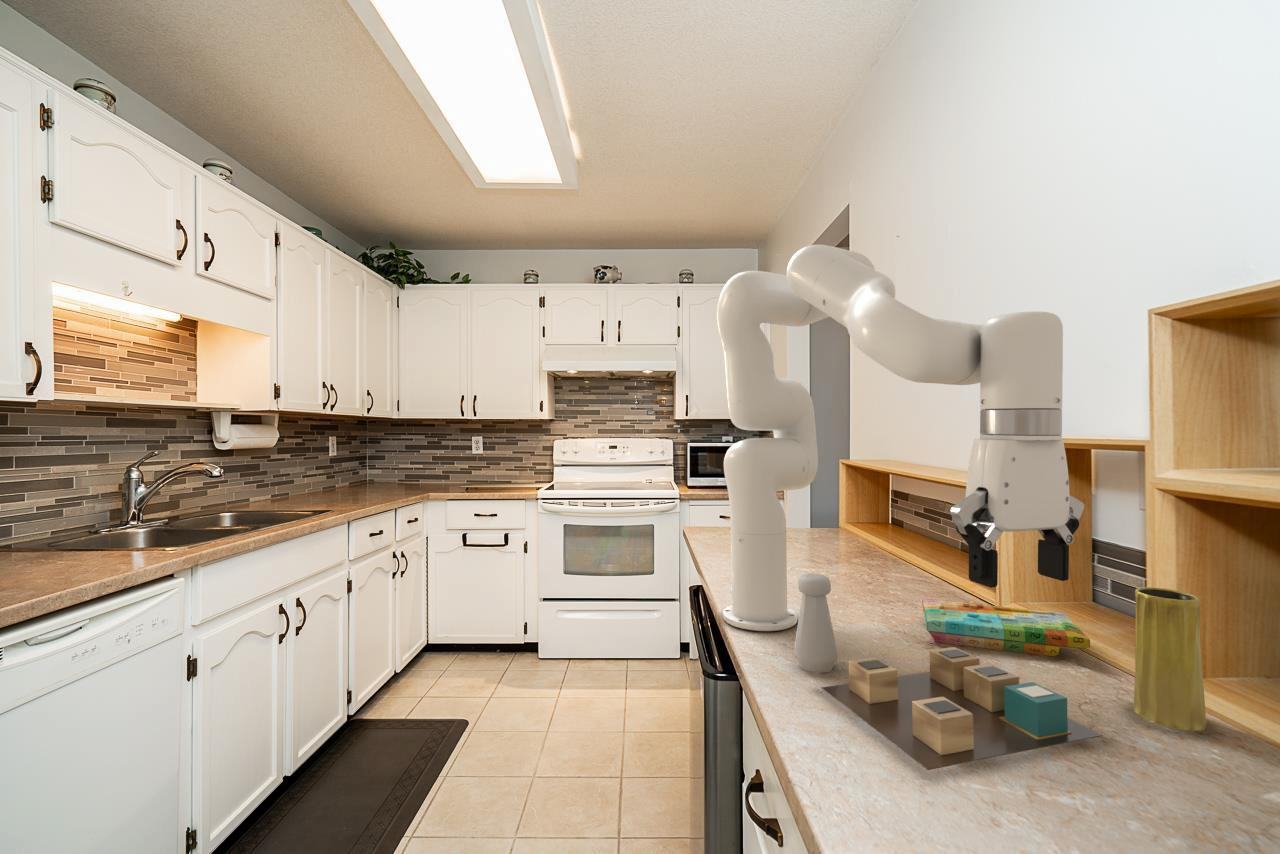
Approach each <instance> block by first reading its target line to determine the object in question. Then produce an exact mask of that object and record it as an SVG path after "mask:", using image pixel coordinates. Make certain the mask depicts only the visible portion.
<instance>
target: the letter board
mask: <svg viewBox="0 0 1280 854" xmlns="http://www.w3.org/2000/svg"><path fill="white" fill-rule="evenodd" d="M820 688H821V689H822V690H823V691H824V692H826V694H828V695H829V696H830V697H832V698H833V699H835V700H836V701H837V702H838V703H840V704H841V705H843V706H844V707H846V709H847V710H849V711H850V712H851V713H852V714H854V715H855V716H856V717H858V718H859V719H861V720H862V721H863V722H864V723H866V724H867V725H868V726H870V727H871V728H872V729H873V730H875V731H876V732H877V733H878V734H879V735H881V736H883V737H884V738H885V739H887V740H888V741H889V742H890V743H891V744H893V745H894V746H896V747H897V748H898V749H899V750H901V751H902V752H903V753H904V754H905V755H907V756H908V757H910V758H911V759H912V760H914V761H915V762H916V763H917V764H918V765H920V766H921V767H922V768H924V769H925V770H926V771H930V770H934V769H935V770H936V769H940V768H945V767H949V766H956V765H960V764H965V763H971V762H975V761H976V762H977V761H980V760H986V759H991V758H995V757H1002V756H1006V755H1012V754H1015V753H1016V754H1017V753H1021V752H1027V751H1032V750H1037V749H1043V748H1047V747H1053V746H1058V745H1064V744H1068V743H1074V742H1078V741H1084V740H1088V739H1094V738H1098V737H1099V738H1100V737H1103V734H1101V733H1098V732H1097V731H1096V730H1095V731H1094V730H1093V729H1090V728H1088V727H1086V726H1084V725H1083V724H1080V723H1079V722H1077V721H1074V720H1072V719H1070V718H1068V732H1063V733H1058V734H1053V735H1048V736H1042V737H1037V736H1035V735H1033V734H1032V733H1030V732H1028V731H1026V730H1024V729H1023V728H1021V727H1019V726H1017V725H1015V724H1014V723H1012V722H1010V721H1008V720H1006V719H1005V710H1002V711H996V712H991V711H989V710H987V709H985V708H983V707H982V706H980V705H978V704H976V703H974V702H973V701H971V700H969V699H967V698H966V697H964V689H963V690H957V691H953V690H951V689H949V688H948V687H946V686H944V685H942V684H940V683H939V682H937V681H935V680H933V679H932V678H930V671H928V672H927V671H926V672H920V673H914V674H905V675H898V700H892V701H886V702H880V703H873V704H869V703H868V702H866V701H865V700H863V699H862V698H861V697H859V696H858V695H856V694H855V693H854V692H852V691H851V690H850V689H849V683H843V684H836V685H829V686H822V687H820ZM937 697H945V698H947V699H948V700H950V701H952V702H953V703H955V704H957V705H958V706H960V707H962V708H964V709H965V710H967V711H969V712H970V713H972V714H973V734H974V749H973V750H967V751H962V752H957V753H951V754H946V755H940V754H939V753H937V752H936V751H934V750H933V749H932V748H930V747H929V746H927V745H926V744H925V743H923V742H922V741H920V740H919V739H918V738H916V737H915V736H914V735H913V723H912V701H918V700H924V699H930V698H937Z"/></svg>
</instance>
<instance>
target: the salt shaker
mask: <svg viewBox="0 0 1280 854" xmlns="http://www.w3.org/2000/svg"><path fill="white" fill-rule="evenodd" d="M797 586H798V591H799V592H800V593H802V596H801V602H800V607H799V613H798V619H797V626H796V627H797V628H796V634H795V640H794V645H793V646H794V647H793V652H794V657H795V659H796V661H797V663H798V665H799V667H800V668H801V669H802V670H804V671H807V672H811V673H815V674H821V673H828V672H829V673H830V672H831V671H832V670H833V668H834V666H835V664H836V662H837V661H838V659H839V658H838V657H839V653H838V648H837V644H836V640H835V635H834V629H833V624H832V619H831V614H830V613H831V612H830V609H829V604H828V599H827V595H829V594H830V593H831V591H832V590H831V589H832V584H831V580H830V578H829V577H828V576H826V575H824V574H820V573H810V572H809V573H803V574H801V575H800V576H799V577H798V581H797Z"/></svg>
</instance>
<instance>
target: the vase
mask: <svg viewBox="0 0 1280 854" xmlns="http://www.w3.org/2000/svg"><path fill="white" fill-rule="evenodd" d="M1134 601H1135V602H1134V603H1135V605H1134V606H1135V623H1134V624H1135V627H1134V630H1135V631H1134V632H1135V633H1134V634H1135V635H1134V636H1135V637H1134V658H1135V659H1134V663H1135V665H1134V690H1133V707H1132V710H1133V712H1135V714H1137V715H1138V716H1139V717H1141V718H1143V719H1145V720H1147V721H1149V722H1152V723H1154V724H1156V725H1161V726H1165V727H1168V728H1171V729H1175V730H1180V731H1189V732H1196V731H1197V732H1198V731H1204V730H1205V729H1206V727H1207V726H1208V723H1207V716H1206V701H1205V700H1206V699H1205V689H1204V688H1205V687H1204V676H1203V674H1204V673H1203V661H1202V659H1203V658H1202V640H1201V639H1202V638H1201V603H1200V598H1199V597H1198V596H1197V595H1194V594H1193V593H1190V592H1189V593H1188V592H1186V591H1181V590H1178V589H1177V590H1176V589H1172V588H1171V589H1170V588H1163V587H1152V586H1151V587H1150V586H1144V587H1138V588H1136V589H1135V590H1134Z"/></svg>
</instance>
